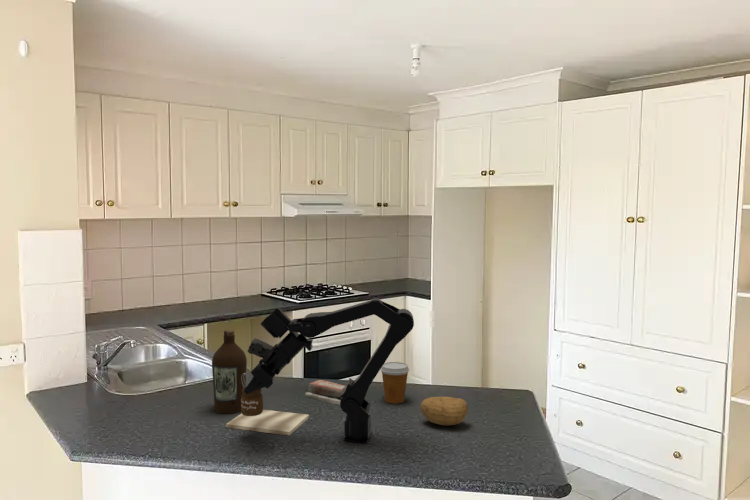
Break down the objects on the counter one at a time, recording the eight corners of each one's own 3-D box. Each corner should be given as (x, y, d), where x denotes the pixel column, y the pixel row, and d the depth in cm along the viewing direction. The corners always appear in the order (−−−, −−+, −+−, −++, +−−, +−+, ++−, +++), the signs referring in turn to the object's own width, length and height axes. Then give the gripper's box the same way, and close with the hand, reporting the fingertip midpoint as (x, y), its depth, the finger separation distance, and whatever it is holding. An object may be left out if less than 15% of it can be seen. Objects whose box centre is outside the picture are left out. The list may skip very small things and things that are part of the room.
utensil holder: (246, 408, 160) (245, 367, 159) (267, 409, 158) (266, 368, 158) (237, 416, 154) (236, 372, 153) (259, 417, 153) (258, 373, 152)
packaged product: (303, 383, 191) (322, 376, 199) (303, 397, 191) (322, 390, 199) (345, 393, 181) (364, 385, 189) (345, 408, 181) (364, 399, 189)
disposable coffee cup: (414, 402, 186) (415, 366, 185) (391, 407, 180) (391, 370, 180) (397, 394, 194) (397, 359, 193) (374, 399, 188) (374, 364, 187)
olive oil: (219, 402, 184) (218, 327, 182) (251, 403, 183) (250, 327, 182) (207, 414, 173) (206, 334, 172) (241, 415, 173) (240, 334, 171)
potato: (422, 416, 173) (423, 390, 172) (469, 420, 169) (469, 394, 169) (417, 428, 163) (417, 401, 163) (466, 433, 160) (466, 405, 159)
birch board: (308, 418, 171) (308, 414, 171) (289, 435, 157) (289, 432, 157) (249, 411, 176) (249, 408, 176) (225, 427, 163) (225, 424, 163)
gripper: (271, 322, 164) (234, 360, 165) (258, 337, 145) (216, 379, 146) (299, 349, 164) (262, 386, 165) (289, 367, 146) (247, 408, 147)
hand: (247, 389), depth 156 cm, fingers closed on utensil holder, 5 cm apart
